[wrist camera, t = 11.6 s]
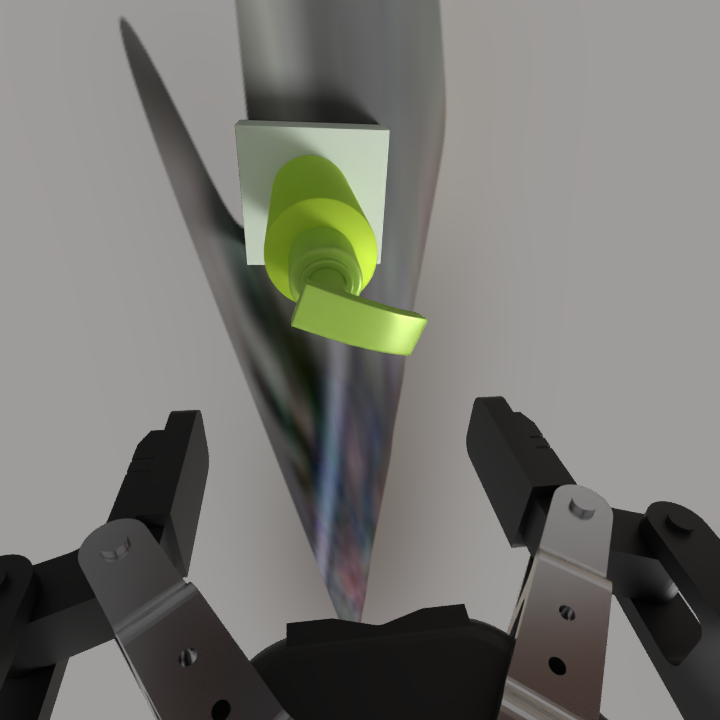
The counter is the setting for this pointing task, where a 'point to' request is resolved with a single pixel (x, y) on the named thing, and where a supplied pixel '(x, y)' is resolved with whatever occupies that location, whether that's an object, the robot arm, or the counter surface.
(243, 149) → the plate
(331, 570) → the counter surface
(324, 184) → the soap dispenser
